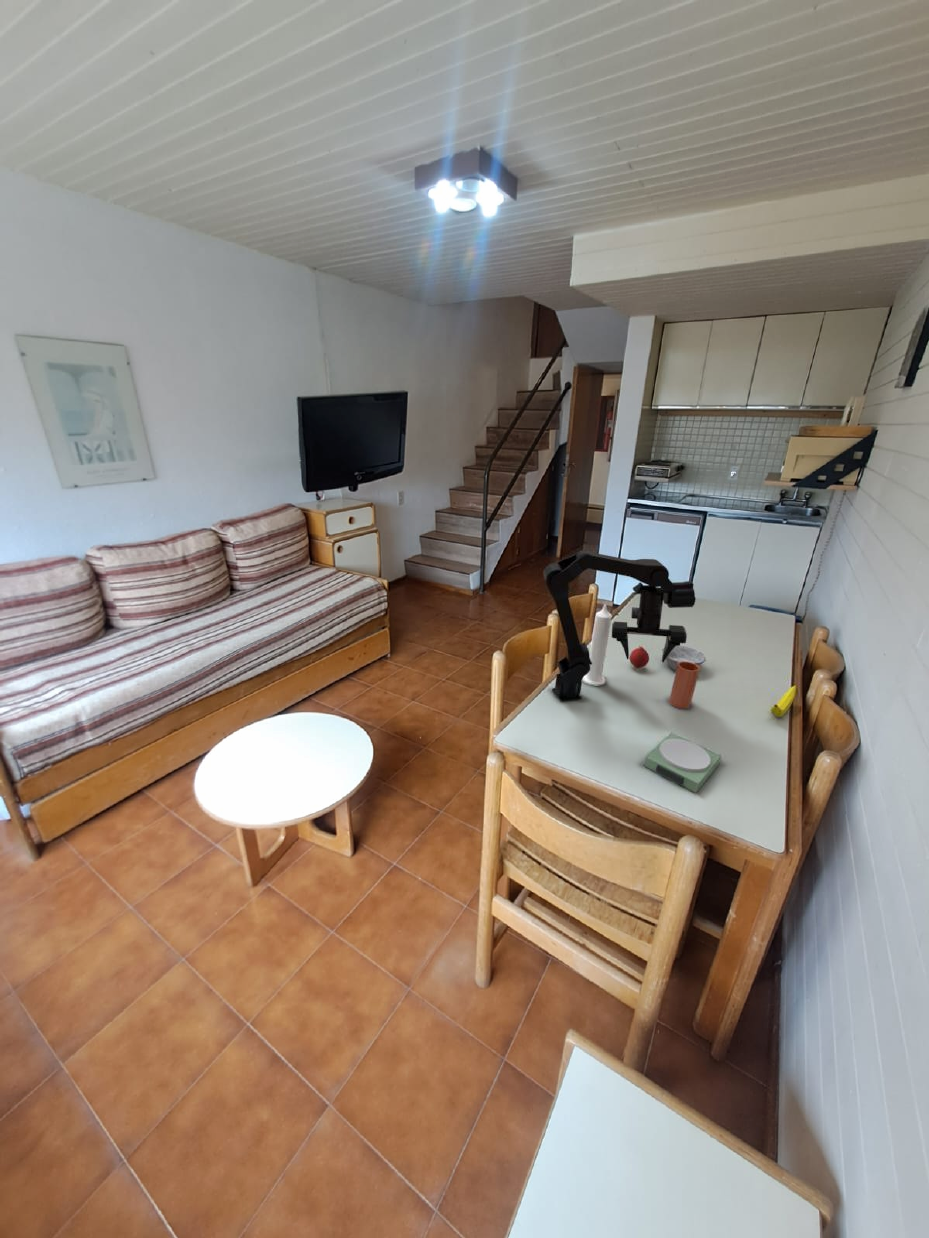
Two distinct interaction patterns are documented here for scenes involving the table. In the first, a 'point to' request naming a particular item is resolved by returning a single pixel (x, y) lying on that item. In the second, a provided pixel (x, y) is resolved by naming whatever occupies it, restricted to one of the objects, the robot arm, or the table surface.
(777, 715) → the banana
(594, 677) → the candle
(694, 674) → the tumbler
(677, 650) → the bowl
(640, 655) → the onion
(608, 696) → the table surface
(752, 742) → the table surface
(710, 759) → the scale
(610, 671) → the table surface
